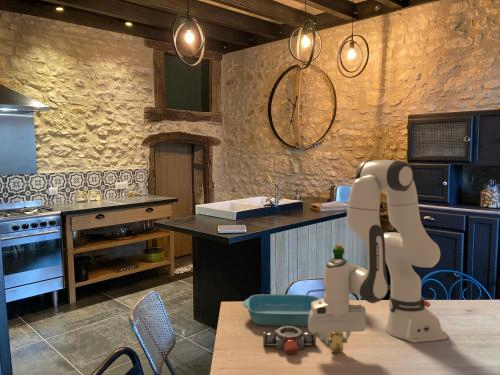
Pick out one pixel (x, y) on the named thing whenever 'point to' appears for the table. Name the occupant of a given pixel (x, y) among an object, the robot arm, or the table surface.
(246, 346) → the table surface
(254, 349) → the table surface
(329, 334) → the cream pebble-shaped knob
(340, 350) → the brass coupling
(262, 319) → the casserole dish
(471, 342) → the table surface
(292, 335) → the valve body
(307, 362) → the table surface
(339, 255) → the bottle
